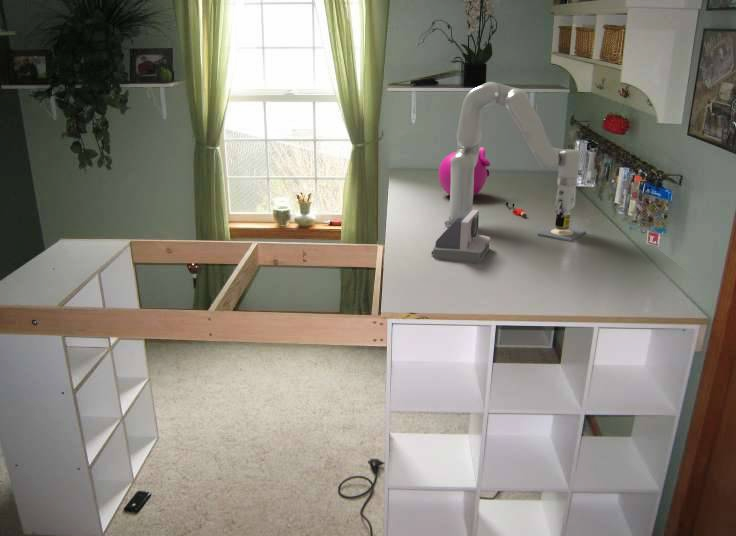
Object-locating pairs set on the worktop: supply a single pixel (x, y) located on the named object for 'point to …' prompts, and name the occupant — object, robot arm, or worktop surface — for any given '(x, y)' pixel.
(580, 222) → the worktop surface
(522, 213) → the person figure
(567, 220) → the supplement bottle
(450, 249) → the grey angle bracket
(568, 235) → the card
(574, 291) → the worktop surface
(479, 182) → the figurine
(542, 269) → the worktop surface
